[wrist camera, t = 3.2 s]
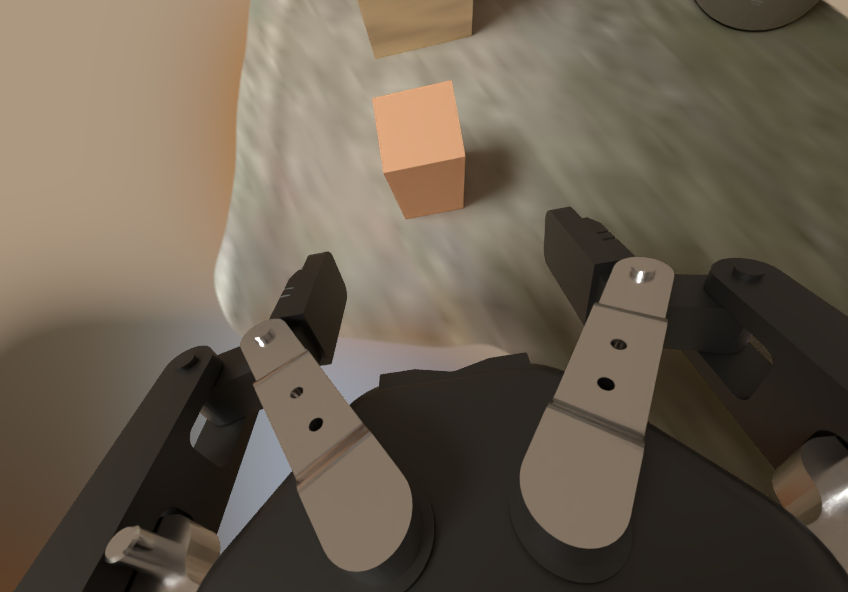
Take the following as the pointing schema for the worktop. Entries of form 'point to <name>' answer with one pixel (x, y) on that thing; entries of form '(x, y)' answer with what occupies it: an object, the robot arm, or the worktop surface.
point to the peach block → (422, 148)
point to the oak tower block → (414, 23)
